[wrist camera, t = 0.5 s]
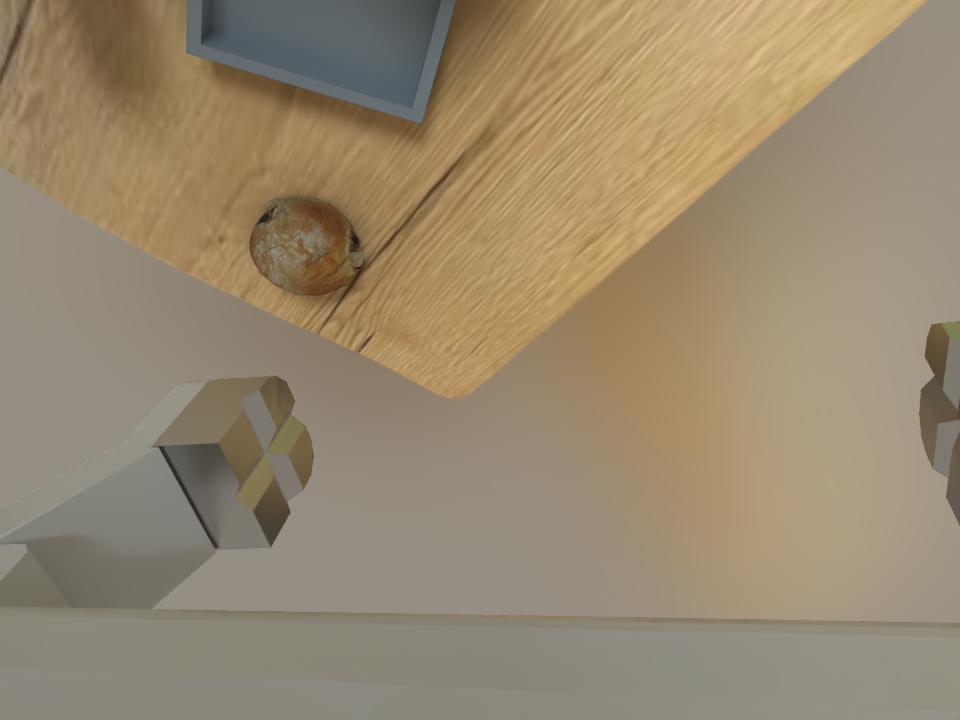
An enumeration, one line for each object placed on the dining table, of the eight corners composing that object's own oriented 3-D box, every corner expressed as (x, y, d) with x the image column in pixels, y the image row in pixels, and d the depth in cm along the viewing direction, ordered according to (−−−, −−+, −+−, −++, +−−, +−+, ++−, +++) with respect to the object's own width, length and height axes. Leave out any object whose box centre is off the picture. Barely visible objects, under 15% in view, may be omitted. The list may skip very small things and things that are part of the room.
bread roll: (313, 162, 70) (262, 186, 63) (391, 241, 71) (348, 272, 64) (266, 228, 76) (215, 256, 69) (339, 300, 77) (295, 335, 70)
